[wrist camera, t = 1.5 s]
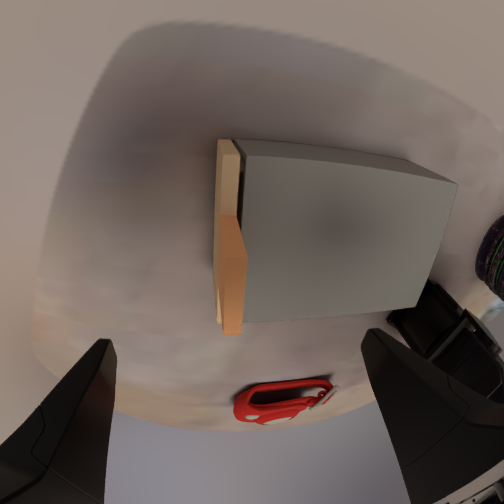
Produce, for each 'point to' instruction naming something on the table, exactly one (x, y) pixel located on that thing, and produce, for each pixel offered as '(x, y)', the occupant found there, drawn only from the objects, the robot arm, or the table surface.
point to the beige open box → (229, 239)
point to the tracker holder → (280, 409)
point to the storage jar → (492, 258)
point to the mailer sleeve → (336, 230)
